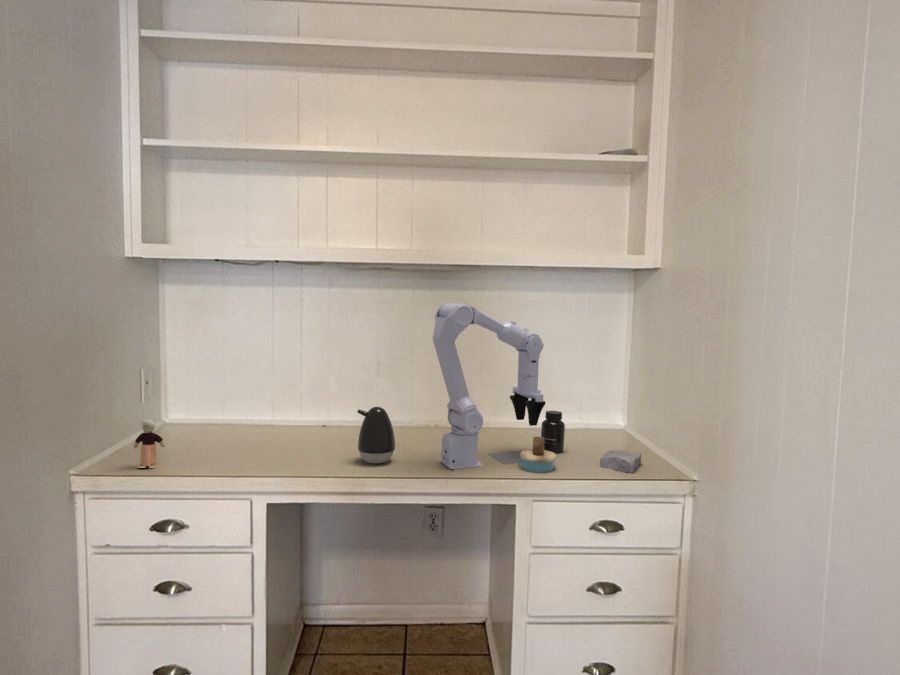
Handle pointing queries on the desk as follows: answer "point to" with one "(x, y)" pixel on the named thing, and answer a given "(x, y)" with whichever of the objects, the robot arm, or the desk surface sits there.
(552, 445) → the supplement bottle
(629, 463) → the stone block
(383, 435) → the pump dispenser
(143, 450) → the grandmother figurine
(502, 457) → the mat
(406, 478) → the desk surface
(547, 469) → the bowl
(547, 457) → the lid
